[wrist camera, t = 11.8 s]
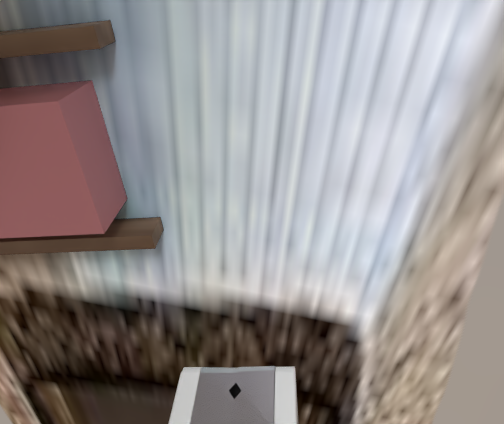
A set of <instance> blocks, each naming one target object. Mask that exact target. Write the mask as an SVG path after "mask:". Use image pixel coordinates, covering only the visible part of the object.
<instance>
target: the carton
mask: <svg viewBox="0 0 504 424" xmlns="http://www.w3.org/2000/svg"><path fill="white" fill-rule="evenodd" d="M126 200H127V196H126V193H125V189H124V186H123V182H122V179H121V176H120V172H119V169H118V166H117V162H116V159H115V156H114V152H113V149H112V146H111V142H110V139H109V136H108V132H107V129H106V126H105V122H104V119H103V115H102V112H101V109H100V105H99V102H98V99H97V95H96V92H95V89H94V85H93V82H92V80H91V81H79V82H68V83H57V84H46V85H35V86H24V87H13V88H2V89H0V238H20V237H42V236H64V235H85V234H104V233H105V232H106V230H107V229H108V227H109V226H110V224H111V223H112V221H113V220H114V218H115V217H116V215H117V214H118V212H119V211H120V209H121V208H122V206H123V205H124V203H125V202H126Z"/></svg>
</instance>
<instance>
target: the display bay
mask: <svg viewBox="0 0 504 424" xmlns="http://www.w3.org/2000/svg"><path fill="white" fill-rule="evenodd" d="M113 42H115V37H114V33H113V29H112V25H111V21H110V20H107V21H97V22H88V23H78V24H69V25H59V26H49V27H40V28H30V29H20V30H11V31H1V32H0V58H8V57H18V56H29V55H39V54H49V53H60V52H70V51H81V50H91V49H100V48H103V47H105V46H107V45H109V44H111V43H113ZM162 232H163V226H162V222H161V218H160V217H155V218H135V219H114V220H113V221H112V223H111V224H110V226H109V227H108V229H107V230H106V232H105V233H104V234H85V235H64V236H42V237H20V238H0V255H6V254H31V253H56V252H81V251H106V250H131V249H155V248H156V246H157V243H158V241H159V239H160V237H161V234H162Z"/></svg>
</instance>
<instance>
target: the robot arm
mask: <svg viewBox="0 0 504 424" xmlns="http://www.w3.org/2000/svg"><path fill="white" fill-rule="evenodd" d="M169 424H298V409H297V392H296V375H295V366H294V367H275V366H267V367H239V368H215V367H184V368H183V370H182V372H181V374H180V378H179V383H178V387H177V391H176V395H175V399H174V403H173V407H172V411H171V416H170V420H169Z"/></svg>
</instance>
